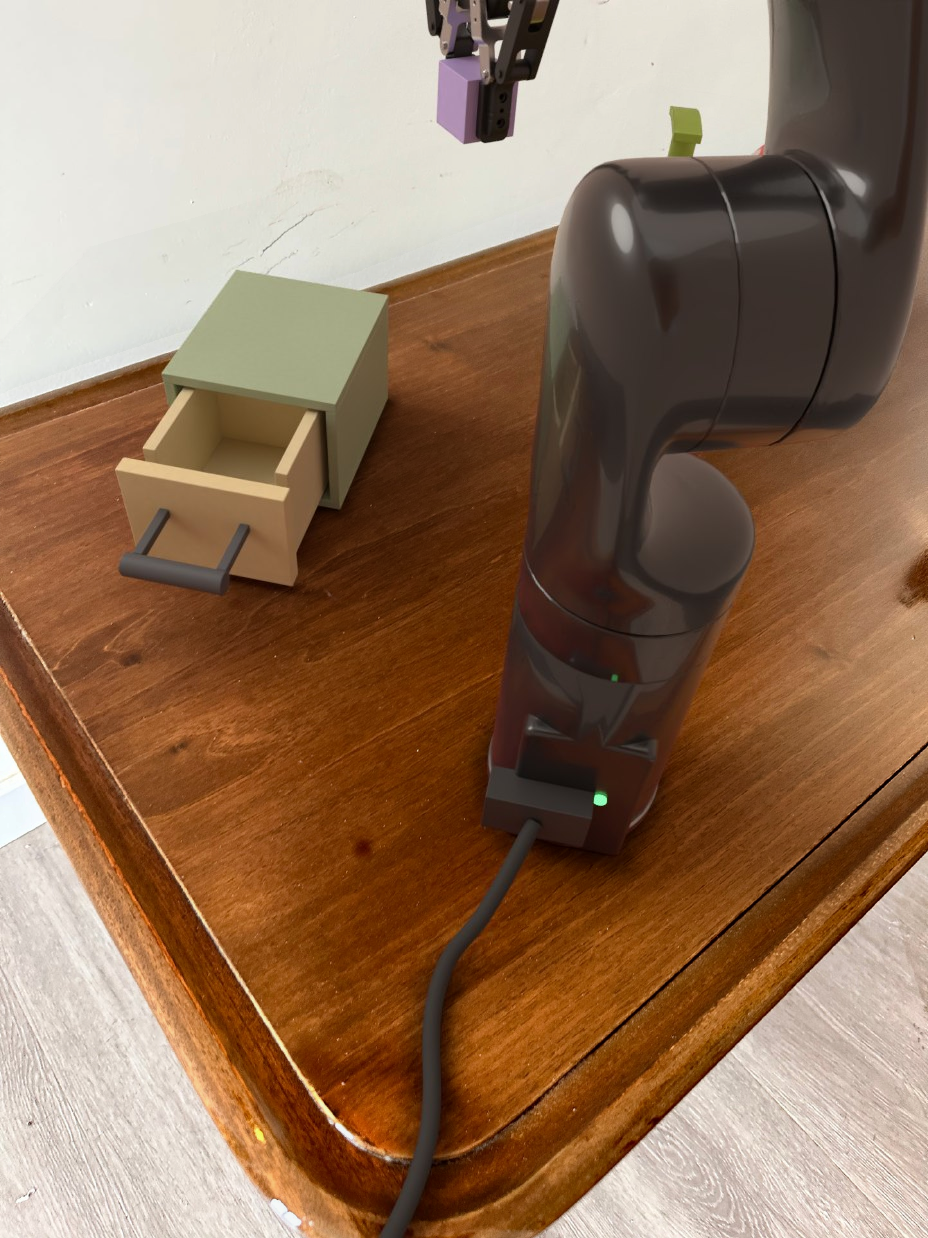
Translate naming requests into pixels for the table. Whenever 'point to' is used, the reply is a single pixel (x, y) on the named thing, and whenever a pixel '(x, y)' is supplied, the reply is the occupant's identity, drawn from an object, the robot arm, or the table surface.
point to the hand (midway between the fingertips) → (474, 125)
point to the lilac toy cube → (463, 98)
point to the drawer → (223, 491)
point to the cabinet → (295, 358)
